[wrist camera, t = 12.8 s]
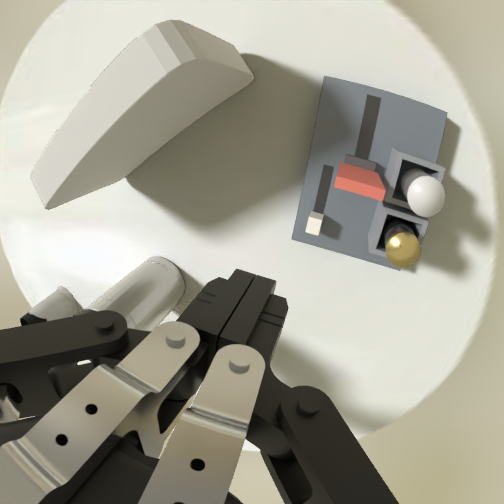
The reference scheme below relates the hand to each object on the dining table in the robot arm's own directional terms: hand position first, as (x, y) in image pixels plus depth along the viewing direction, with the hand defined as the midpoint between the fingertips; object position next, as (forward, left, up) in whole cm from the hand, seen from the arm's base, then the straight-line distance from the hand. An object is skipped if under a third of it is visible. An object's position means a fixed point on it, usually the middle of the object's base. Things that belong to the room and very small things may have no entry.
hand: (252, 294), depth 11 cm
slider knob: (-6, 0, -27) cm, 28 cm away
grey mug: (-47, +55, -30) cm, 79 cm away
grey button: (+2, -10, -22) cm, 24 cm away
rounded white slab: (+3, +23, -31) cm, 38 cm away
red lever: (+1, -4, -27) cm, 27 cm away
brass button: (-4, -10, -24) cm, 26 cm away
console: (+1, -5, -30) cm, 31 cm away
